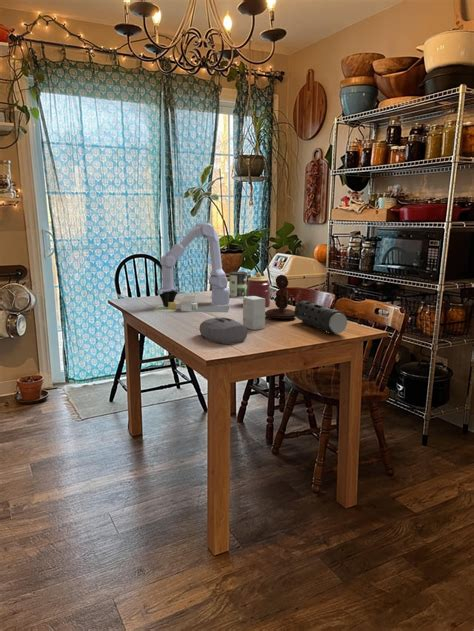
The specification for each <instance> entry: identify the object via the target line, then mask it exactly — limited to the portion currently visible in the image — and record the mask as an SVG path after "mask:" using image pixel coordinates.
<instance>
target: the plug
mask: <svg viewBox="0 0 474 631" xmlns="http://www.w3.org/2000/svg"><path fill="white" fill-rule="evenodd" d="M197 306H198V302H195V303H193V310H197ZM167 309H181V302H176V301H174V302H168V307H167Z"/></svg>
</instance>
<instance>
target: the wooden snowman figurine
mask: <svg viewBox="0 0 474 631" xmlns="http://www.w3.org/2000/svg"><path fill="white" fill-rule="evenodd" d="M275 285H276V287H277V288H278V291H279V293H278V294H277V295H276V296H275V298H274V302H275V306H276V308H270V309H267V310H265V317H268V318H269V320H270V321H272V320H273V319H290V321H293V318H297V317H296V316H295V310H293V309H291V308H290V309H289V308H288V306H289V292H288V291H289V290H288V286H289V279H288V277H287V276H286V275H284V274H279V275H277V276H276V278H275ZM285 290H286V295H285V292H284V291H285Z"/></svg>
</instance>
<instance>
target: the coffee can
mask: <svg viewBox="0 0 474 631" xmlns="http://www.w3.org/2000/svg"><path fill="white" fill-rule="evenodd" d="M247 282H248V273H247V272H246V271H230V272H229V298H233V299H243V297H246V289H247V285H246V283H247Z"/></svg>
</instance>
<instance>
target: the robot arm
mask: <svg viewBox="0 0 474 631" xmlns="http://www.w3.org/2000/svg"><path fill="white" fill-rule="evenodd" d="M200 237H203V238H204V239H206V240H208V244H209V245H208V247H209V256H210V265H211V271H210V277H209V284H210V285H211V302H210V306H229V304H230V297H229V293H230V287H226V286H227V285H228V282H229V281H228V278H227V275H226V272H225V271H224V270H223V264H222V254H221V247H220V245H221V244H220V238H219V234H218V233H217V231H216V230H215V227H214V225H212V224H211V223H208V222H197V223H196V224H194V226H193V227H191V229H190V230H189V232H188V233H187V234H186V235H185V237H184V238H183V239H182V240H181V241H180V243H175V244H172V246H171V248H170V249H169V251H168V252H167V251H166V253H165V255H162V256H161V258H160V260H159V263H160V265H161V283H162V285H161V288H160V289H157V290H156V292H157V295H159V296H160V299H161V302H162V305H164V307H168V302H175V299H176V297H177V295H178V291H179V286H176V285H175V284H174V283H175V282H174V280H175V277H174V276H175V275H174V267H175V265H176V262H177V260H179V258H180V257H181V256H182V255H183V254H184V253H185V248H186V247H187V246H188V245H190V244H191V242H193V241H194V240H195V239H196V238H200Z"/></svg>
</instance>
